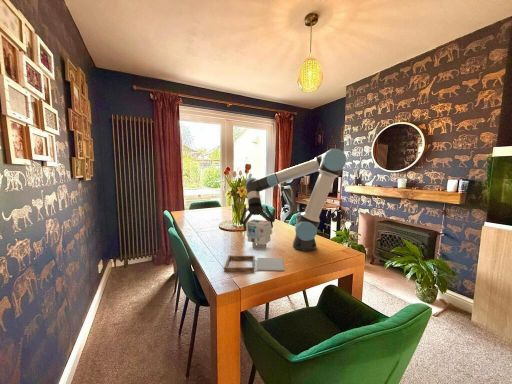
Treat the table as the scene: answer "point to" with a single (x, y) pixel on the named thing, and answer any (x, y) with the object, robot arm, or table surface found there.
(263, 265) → the rubber mat
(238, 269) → the walnut collar
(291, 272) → the table surface
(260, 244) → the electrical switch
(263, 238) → the light bulb box
